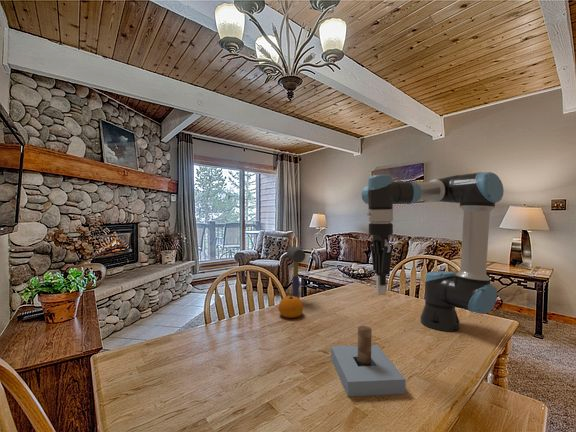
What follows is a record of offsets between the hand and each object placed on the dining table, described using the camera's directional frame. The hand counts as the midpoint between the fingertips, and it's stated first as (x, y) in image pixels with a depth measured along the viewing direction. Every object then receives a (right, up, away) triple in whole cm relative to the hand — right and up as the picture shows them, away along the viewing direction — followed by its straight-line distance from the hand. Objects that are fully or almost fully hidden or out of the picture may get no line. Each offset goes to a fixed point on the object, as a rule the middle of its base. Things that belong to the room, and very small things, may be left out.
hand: (381, 294), depth 95 cm
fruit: (-29, -22, +41) cm, 55 cm away
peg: (-8, -23, -7) cm, 25 cm away
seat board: (-7, -23, -7) cm, 25 cm away
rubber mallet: (-27, -21, +59) cm, 68 cm away
